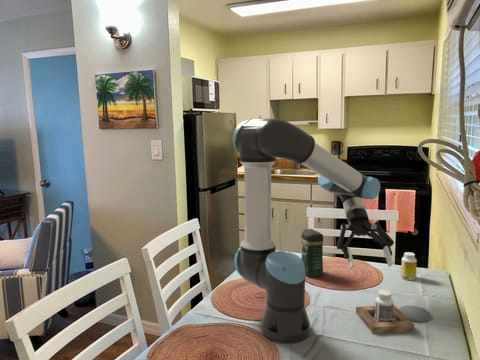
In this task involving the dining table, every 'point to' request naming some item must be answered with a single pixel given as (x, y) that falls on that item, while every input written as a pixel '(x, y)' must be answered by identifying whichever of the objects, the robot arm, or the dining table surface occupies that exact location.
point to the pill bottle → (384, 307)
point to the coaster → (415, 313)
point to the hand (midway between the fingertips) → (371, 265)
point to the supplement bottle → (408, 266)
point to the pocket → (384, 327)
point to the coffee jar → (312, 252)
